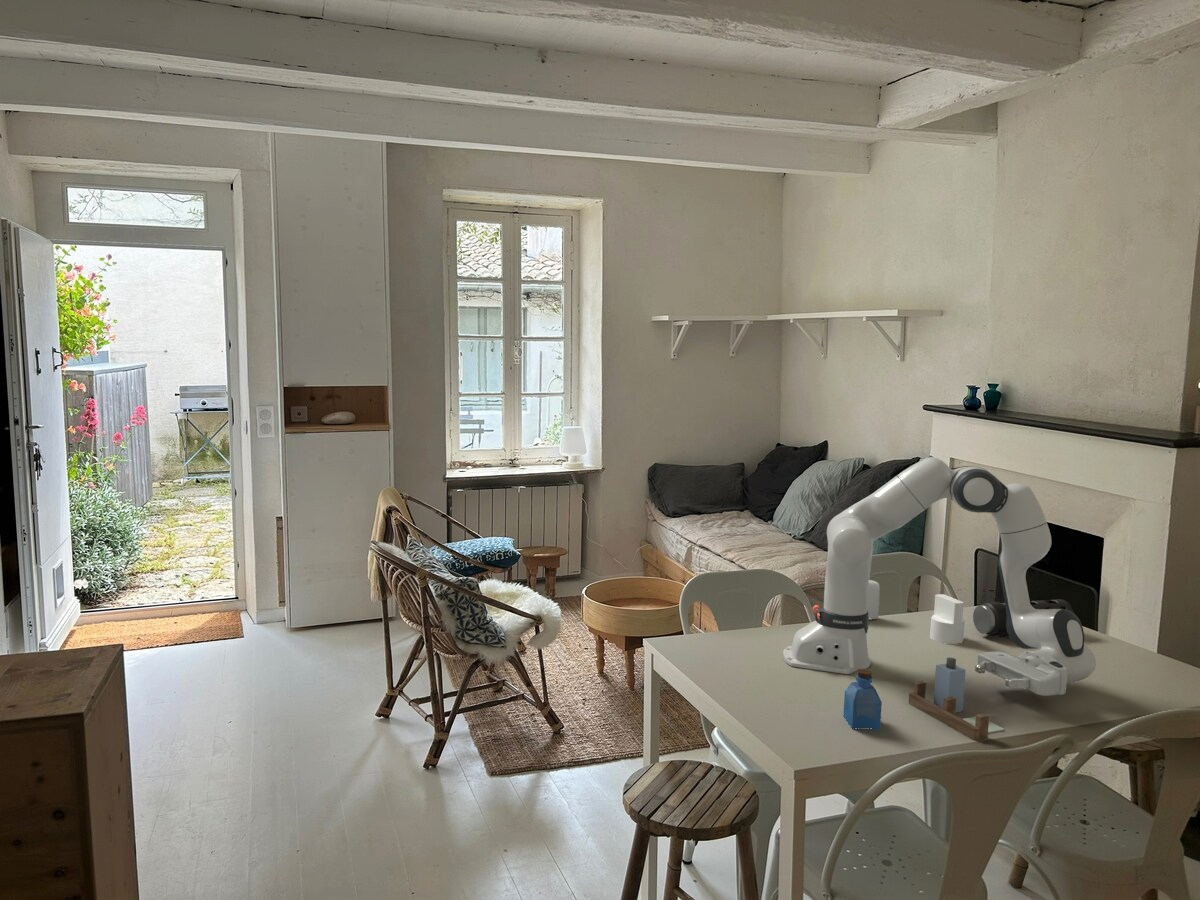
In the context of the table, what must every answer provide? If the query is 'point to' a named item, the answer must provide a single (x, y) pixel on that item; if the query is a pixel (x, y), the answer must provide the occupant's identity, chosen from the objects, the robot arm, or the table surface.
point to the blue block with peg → (949, 683)
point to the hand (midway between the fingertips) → (992, 676)
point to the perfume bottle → (862, 702)
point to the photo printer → (873, 599)
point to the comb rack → (952, 714)
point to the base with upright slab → (947, 620)
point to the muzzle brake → (994, 615)
